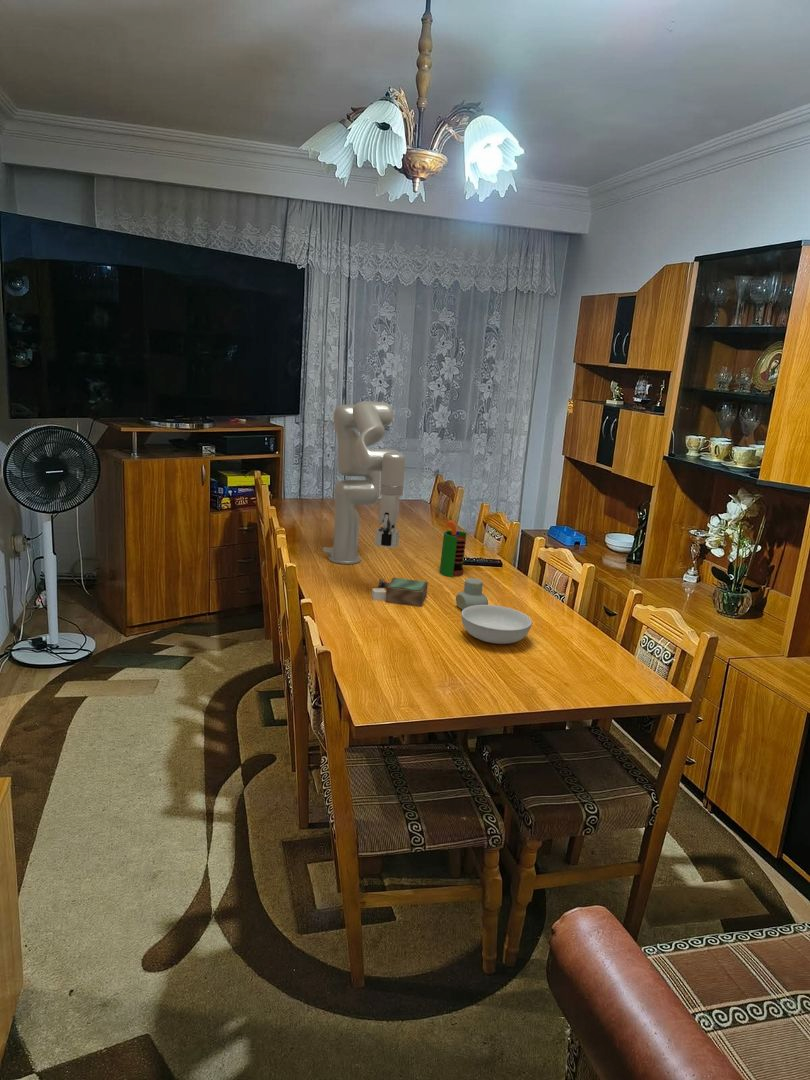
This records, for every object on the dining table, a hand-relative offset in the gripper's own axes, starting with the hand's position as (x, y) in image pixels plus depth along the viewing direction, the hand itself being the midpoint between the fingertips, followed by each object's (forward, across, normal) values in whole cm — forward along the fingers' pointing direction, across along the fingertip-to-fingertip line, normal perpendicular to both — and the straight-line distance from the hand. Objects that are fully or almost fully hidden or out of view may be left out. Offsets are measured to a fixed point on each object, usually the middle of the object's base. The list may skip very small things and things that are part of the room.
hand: (387, 543), depth 250 cm
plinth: (+18, +2, +8) cm, 20 cm away
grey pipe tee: (+18, +4, +30) cm, 36 cm away
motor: (+18, -35, +18) cm, 44 cm away
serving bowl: (+19, +26, +40) cm, 51 cm away
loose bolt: (+18, -8, 0) cm, 20 cm away
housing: (+1, 0, 0) cm, 1 cm away
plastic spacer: (+18, +5, -1) cm, 19 cm away
